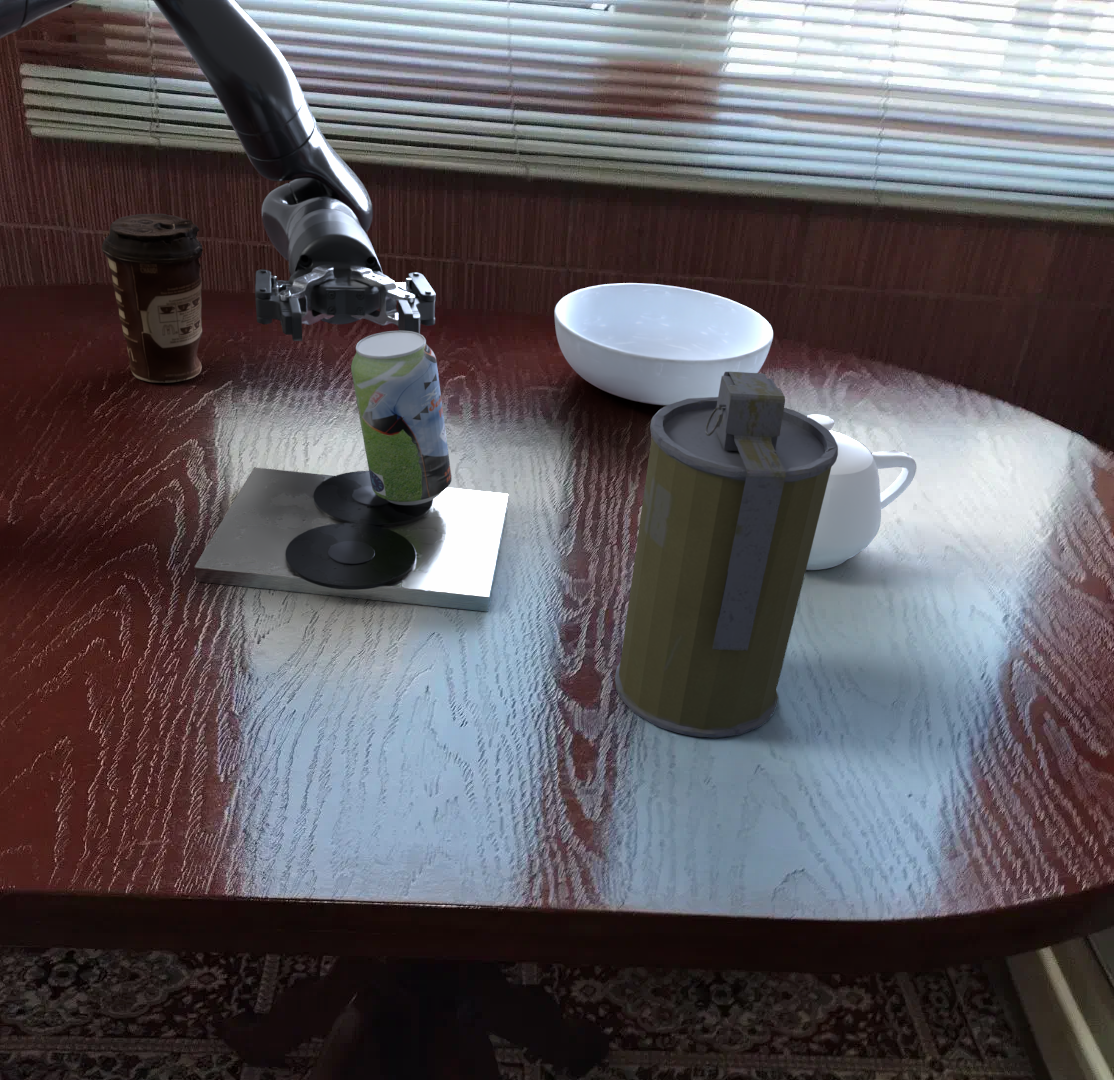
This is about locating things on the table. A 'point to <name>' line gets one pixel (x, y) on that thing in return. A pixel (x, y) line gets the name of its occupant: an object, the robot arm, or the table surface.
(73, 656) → the table surface
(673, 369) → the serving bowl
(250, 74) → the robot arm
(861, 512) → the teapot
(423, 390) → the beverage can
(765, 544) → the canister
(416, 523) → the hob
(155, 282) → the coffee cup
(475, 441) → the table surface
